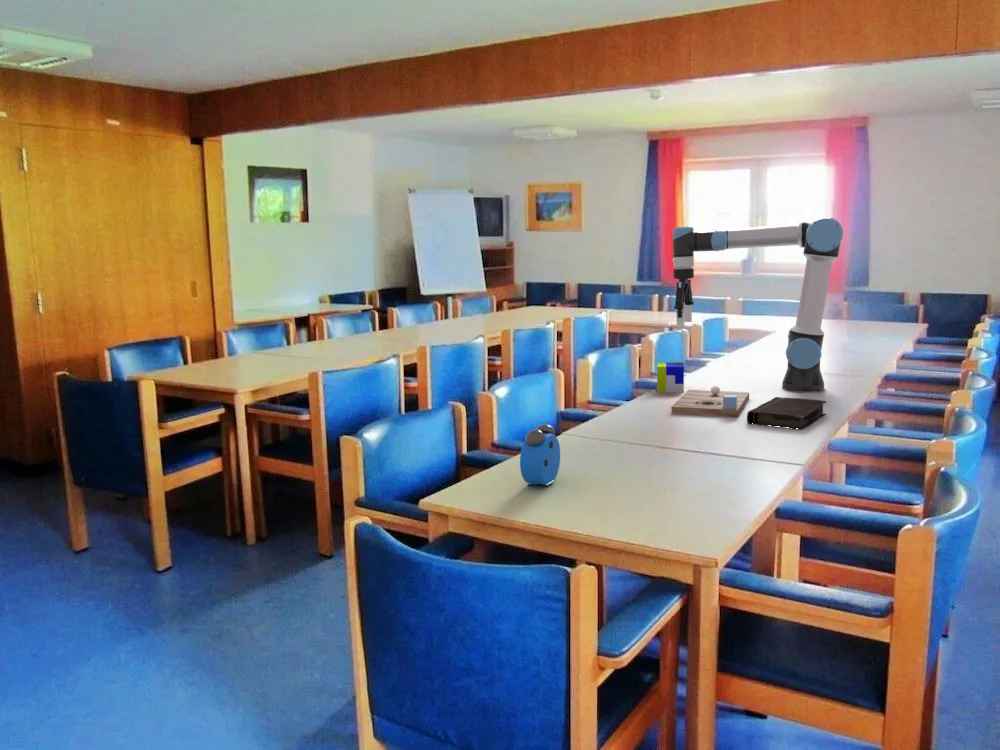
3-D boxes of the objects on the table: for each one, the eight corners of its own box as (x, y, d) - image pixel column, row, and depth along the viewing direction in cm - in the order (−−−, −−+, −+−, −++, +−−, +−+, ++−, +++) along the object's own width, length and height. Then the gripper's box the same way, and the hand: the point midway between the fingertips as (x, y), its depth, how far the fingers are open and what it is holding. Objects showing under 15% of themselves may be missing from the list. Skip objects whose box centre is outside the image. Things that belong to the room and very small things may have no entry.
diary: (745, 425, 264) (746, 409, 263) (773, 409, 283) (773, 395, 282) (804, 432, 252) (805, 416, 251) (829, 415, 272) (829, 401, 271)
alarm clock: (540, 475, 217) (538, 420, 214) (562, 477, 214) (560, 422, 211) (520, 490, 205) (518, 432, 202) (542, 493, 202) (541, 434, 200)
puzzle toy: (683, 392, 315) (683, 366, 313) (657, 392, 317) (657, 366, 315) (683, 387, 325) (683, 362, 323) (657, 387, 327) (657, 362, 325)
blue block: (735, 406, 277) (735, 394, 276) (736, 409, 273) (736, 397, 272) (722, 406, 278) (723, 394, 277) (724, 409, 274) (724, 397, 273)
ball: (720, 394, 297) (720, 385, 297) (719, 395, 295) (719, 387, 294) (711, 393, 299) (711, 385, 298) (710, 395, 296) (710, 386, 295)
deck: (688, 396, 308) (688, 389, 307) (749, 399, 299) (749, 392, 298) (671, 413, 281) (671, 406, 280) (737, 417, 272) (737, 410, 272)
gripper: (680, 266, 321) (681, 320, 325) (666, 270, 299) (667, 328, 303) (700, 265, 318) (700, 320, 322) (686, 269, 296) (687, 328, 300)
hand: (684, 324), depth 312 cm, fingers open, 13 cm apart
